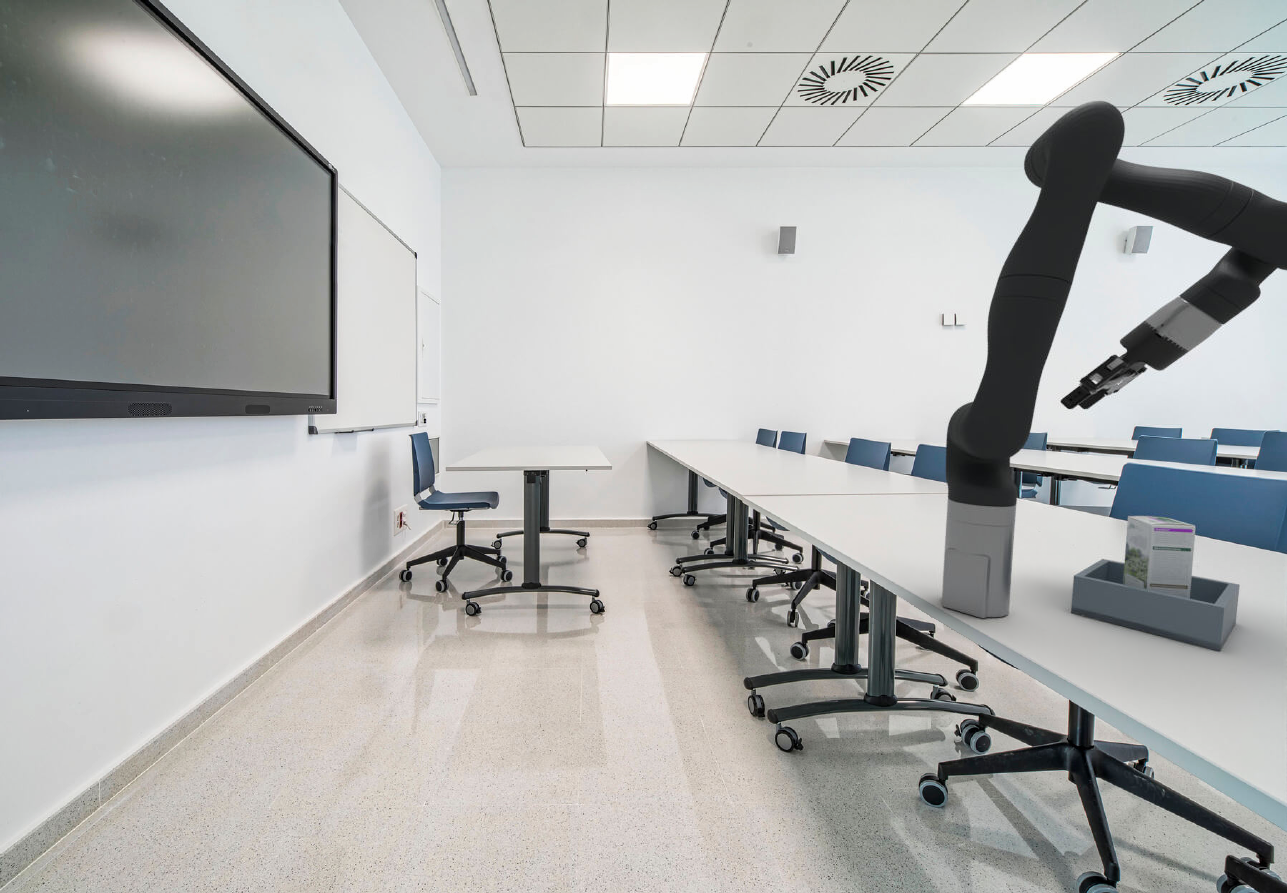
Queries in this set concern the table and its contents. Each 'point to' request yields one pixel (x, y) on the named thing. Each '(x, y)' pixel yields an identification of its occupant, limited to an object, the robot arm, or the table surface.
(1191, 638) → the tote
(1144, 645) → the table surface
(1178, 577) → the syrup box
